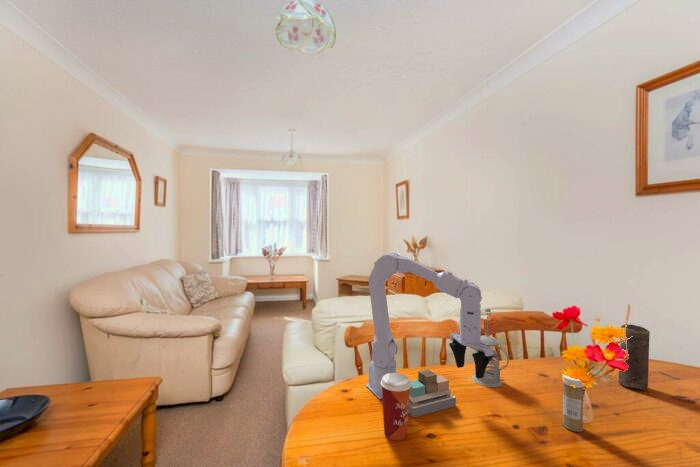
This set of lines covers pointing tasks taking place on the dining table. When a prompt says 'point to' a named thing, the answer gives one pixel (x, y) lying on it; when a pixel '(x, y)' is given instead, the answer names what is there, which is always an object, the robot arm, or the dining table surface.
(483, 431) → the dining table surface
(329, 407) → the dining table surface
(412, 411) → the dock
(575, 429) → the sprinkles bottle
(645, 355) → the candle
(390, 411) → the paper cup
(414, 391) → the block
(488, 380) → the french press
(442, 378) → the block
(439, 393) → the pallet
